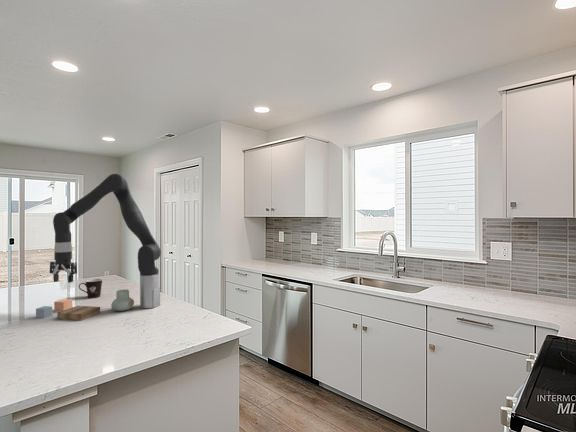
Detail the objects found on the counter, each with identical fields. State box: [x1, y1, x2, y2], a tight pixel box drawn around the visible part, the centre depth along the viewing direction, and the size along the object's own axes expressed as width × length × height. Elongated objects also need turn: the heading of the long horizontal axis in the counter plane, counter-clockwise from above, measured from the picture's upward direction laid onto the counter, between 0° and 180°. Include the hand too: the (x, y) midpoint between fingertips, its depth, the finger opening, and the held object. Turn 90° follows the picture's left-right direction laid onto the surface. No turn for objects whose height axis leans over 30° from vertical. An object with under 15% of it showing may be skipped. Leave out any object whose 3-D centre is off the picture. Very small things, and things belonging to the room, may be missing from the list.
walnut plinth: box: [56, 305, 101, 321], centre depth 160 cm, size 13×12×3 cm
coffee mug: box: [78, 278, 103, 299], centre depth 197 cm, size 12×9×10 cm
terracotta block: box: [53, 298, 73, 313], centre depth 170 cm, size 6×6×5 cm
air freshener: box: [110, 288, 135, 312], centre depth 171 cm, size 11×8×10 cm
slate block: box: [35, 305, 53, 319], centre depth 159 cm, size 4×4×4 cm
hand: (63, 281), depth 170 cm, fingers open, 8 cm apart
